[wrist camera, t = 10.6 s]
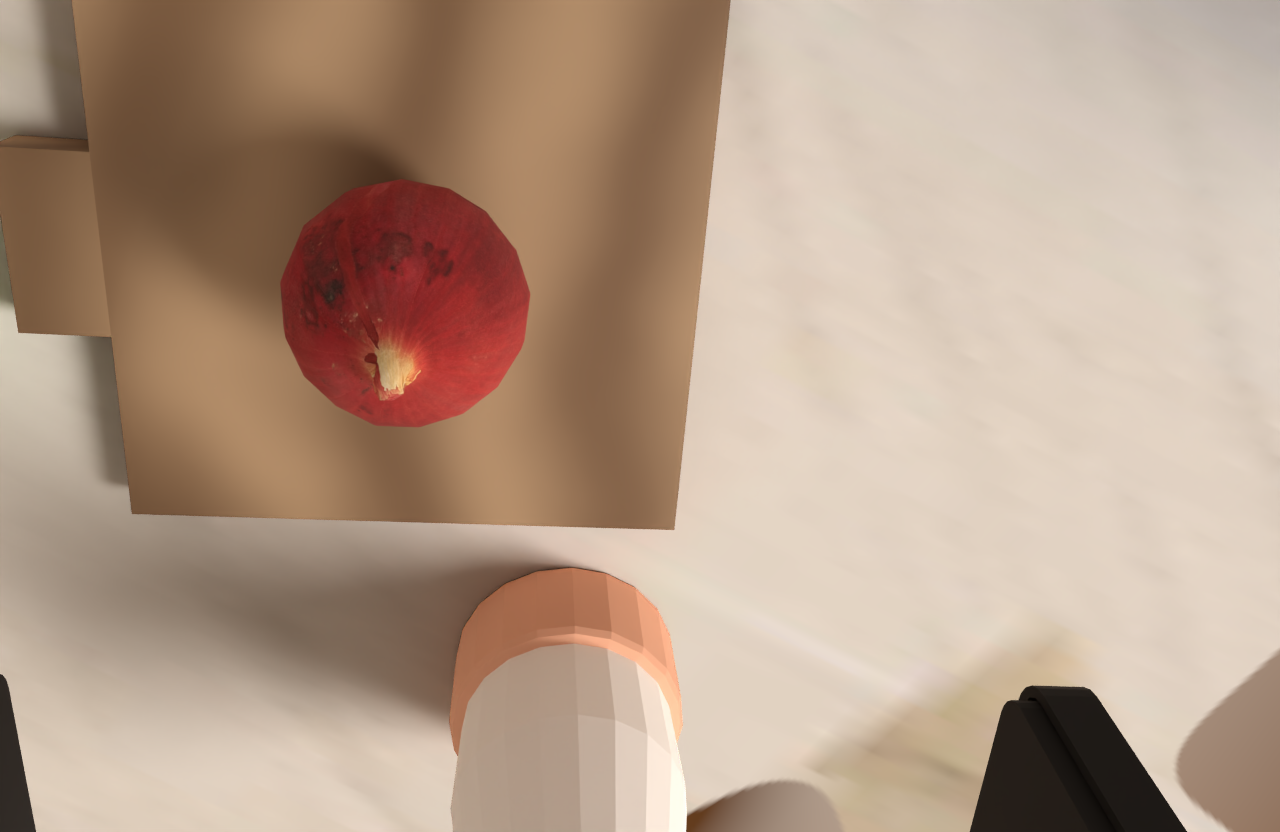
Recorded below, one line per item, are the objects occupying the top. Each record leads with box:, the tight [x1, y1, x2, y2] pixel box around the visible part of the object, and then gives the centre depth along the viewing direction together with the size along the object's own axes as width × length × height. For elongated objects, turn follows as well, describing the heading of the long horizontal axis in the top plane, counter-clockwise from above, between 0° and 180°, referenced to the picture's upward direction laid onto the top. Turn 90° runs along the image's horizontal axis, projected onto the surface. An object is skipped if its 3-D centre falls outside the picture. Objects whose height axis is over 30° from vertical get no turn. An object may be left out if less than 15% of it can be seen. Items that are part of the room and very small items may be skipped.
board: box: [0, 0, 730, 530], centre depth 31 cm, size 18×16×2 cm
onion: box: [280, 179, 530, 427], centre depth 27 cm, size 6×6×8 cm
